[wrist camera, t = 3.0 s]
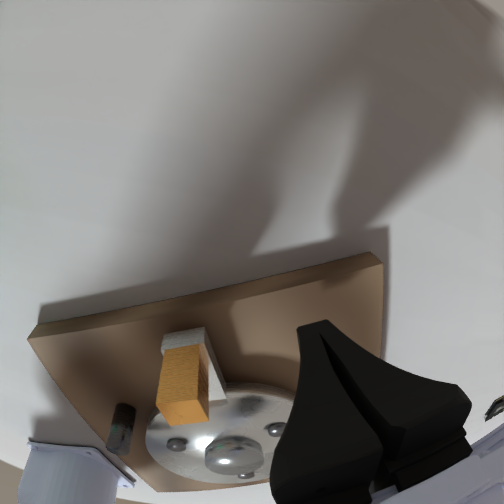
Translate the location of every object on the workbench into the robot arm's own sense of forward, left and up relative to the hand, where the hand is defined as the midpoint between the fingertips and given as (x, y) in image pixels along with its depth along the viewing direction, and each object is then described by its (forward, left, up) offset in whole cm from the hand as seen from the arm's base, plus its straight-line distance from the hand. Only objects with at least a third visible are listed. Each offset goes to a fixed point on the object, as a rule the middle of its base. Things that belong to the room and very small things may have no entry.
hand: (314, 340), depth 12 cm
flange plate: (-6, -7, -2) cm, 9 cm away
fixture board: (-6, -9, -4) cm, 11 cm away
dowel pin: (-12, -5, -2) cm, 13 cm away
